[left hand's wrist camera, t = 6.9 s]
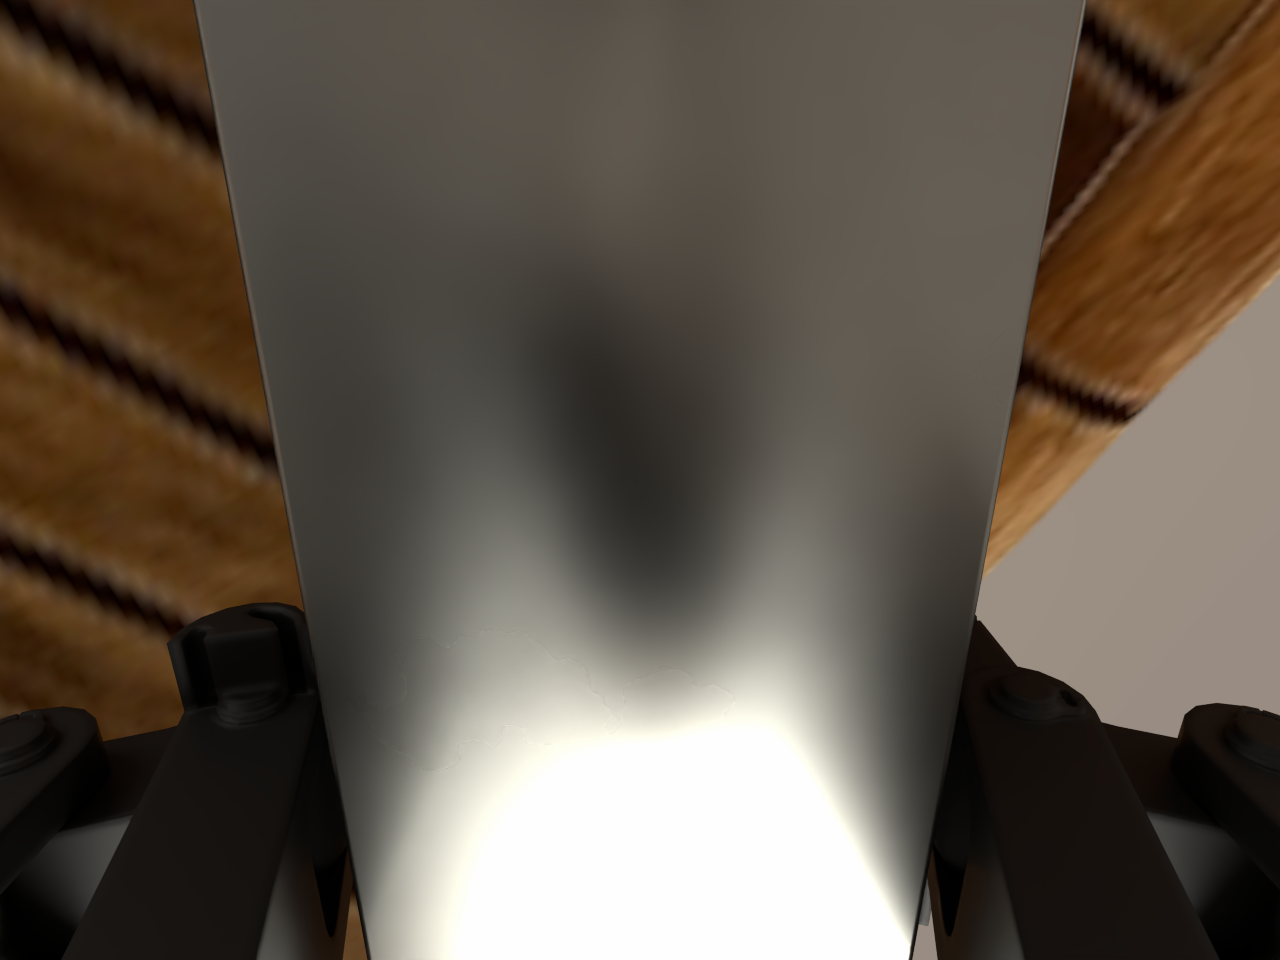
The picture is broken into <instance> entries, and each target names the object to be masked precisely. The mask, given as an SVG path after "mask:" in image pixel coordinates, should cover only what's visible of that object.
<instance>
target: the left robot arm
mask: <svg viewBox="0 0 1280 960" xmlns="http://www.w3.org/2000/svg"><path fill="white" fill-rule="evenodd" d="M167 646H168V650H169V654H170V657H171V661H172V665H173V669H174V673H175V677H176V680H177V684H178V688H179V692H180V696H181V700H182V703H183V707H184V711H185V712H184V714H183V716H182V718H181V720H180V722H179V724H178V726H175V727H171V728H167V729H163V730H158V731H153V732H148V733H143V734H138V735H133V736H128V737H123V738H118V739H113V740H108V741H103V740H102V737H101V734H100V731H99V727H98V724H97V721H96V718H95V717H93V716H92V715H91V714H90V713H88V712H87V711H86V710H84V709H77V708H70V707H55V708H47V709H36V710H31V711H26V712H22V713H21V714H19V715H18V714H15V715H12V716H9V717H6V718H3V719H1V720H0V960H343V952H344V944H345V936H346V928H347V920H348V912H349V904H350V897H351V889H352V881H353V877H352V871H351V866H350V860H349V855H348V849H347V844H346V839H345V833H344V828H343V822H342V817H341V811H340V806H339V800H338V795H337V789H336V784H335V778H334V773H333V767H332V762H331V756H330V751H329V745H328V740H327V734H326V729H325V723H324V718H323V712H322V707H321V701H320V696H319V690H318V685H317V679H316V674H315V668H314V663H313V657H312V652H311V646H310V641H309V635H308V630H307V624H306V619H305V613H304V612H303V611H301V610H300V609H299V608H297V607H296V606H292V605H287V604H282V603H278V602H274V603H251V604H246V605H241V606H236V607H231V608H226V609H224V610H221V611H218V612H215V613H213V614H210V615H207V616H204V617H202V618H200V619H198V620H196V621H195V622H193V623H191V624H189V625H188V626H186V627H184V628H183V629H181V630H180V631H179V632H178V633H177V634H176V635H175V636H174V637H173V638H172V639H171V640H170V641H169V642H168V643H167ZM931 911H932V918H933V926H934V934H935V942H936V950H937V958H938V960H1280V716H1279V715H1277V714H1274V713H1271V712H1268V711H1265V710H1263V711H1260V710H1259V709H1257V708H1252V707H1248V706H1239V705H1230V704H1221V703H1213V704H1206V705H1199V706H1195V707H1194V708H1193V709H1191V710H1190V711H1189V712H1188V713H1186V714H1185V716H1184V719H1183V722H1182V725H1181V728H1180V732H1179V735H1178V738H1174V737H1169V736H1164V735H1158V734H1153V733H1148V732H1143V731H1138V730H1133V729H1128V728H1123V727H1118V726H1114V725H1110V724H1106V723H1102V722H1101V721H1100V719H1099V717H1098V715H1097V713H1096V711H1095V709H1094V708H1093V707H1092V706H1091V704H1090V703H1089V702H1088V701H1087V700H1086V698H1085V697H1084V696H1083V695H1082V694H1080V693H1079V692H1077V691H1076V690H1075V689H1073V688H1072V687H1070V686H1069V685H1067V684H1066V683H1064V682H1063V681H1060V680H1058V679H1056V678H1053V677H1051V676H1048V675H1046V674H1044V673H1041V672H1039V671H1035V670H1031V669H1026V668H1022V667H1017V665H1016V664H1015V663H1014V662H1013V661H1012V659H1011V658H1010V657H1009V656H1008V654H1007V653H1006V652H1005V651H1004V649H1003V648H1002V647H1001V646H1000V645H999V643H998V642H997V641H996V640H995V638H994V637H993V636H992V635H991V633H990V632H989V631H988V630H987V628H986V627H985V626H984V625H983V624H982V622H981V621H977V616H976V615H975V617H974V623H973V628H972V634H971V639H970V645H969V650H968V656H967V661H966V667H965V672H964V678H963V683H962V689H961V694H960V700H959V705H958V711H957V716H956V722H955V727H954V733H953V738H952V744H951V749H950V755H949V760H948V765H947V771H946V776H945V782H944V787H943V793H942V798H941V804H940V809H939V815H938V820H937V826H936V831H935V837H934V842H933V848H932V853H931V859H930V864H929V870H928V875H927V881H926V886H925V892H924V897H923V903H922V908H921V914H920V919H919V924H921V925H925V926H928V924H929V919H930V914H931Z"/></svg>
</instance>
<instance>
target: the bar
mask: <svg viewBox="0 0 1280 960" xmlns="http://www.w3.org/2000/svg"><path fill="white" fill-rule="evenodd" d="M1086 3H1087V0H193V4H194V10H195V15H196V21H197V26H198V32H199V37H200V43H201V48H202V54H203V59H204V65H205V70H206V76H207V81H208V87H209V92H210V97H211V103H212V108H213V114H214V119H215V125H216V130H217V136H218V141H219V147H220V152H221V158H222V163H223V169H224V174H225V180H226V185H227V191H228V196H229V202H230V207H231V213H232V218H233V224H234V229H235V235H236V240H237V246H238V251H239V257H240V262H241V268H242V273H243V279H244V284H245V290H246V295H247V301H248V306H249V312H250V317H251V323H252V328H253V334H254V339H255V344H256V350H257V355H258V361H259V366H260V372H261V377H262V383H263V388H264V394H265V399H266V405H267V410H268V416H269V421H270V427H271V432H272V438H273V443H274V449H275V454H276V460H277V465H278V471H279V476H280V482H281V487H282V493H283V498H284V504H285V509H286V515H287V520H288V526H289V531H290V537H291V542H292V548H293V553H294V559H295V564H296V570H297V575H298V581H299V586H300V591H301V597H302V602H303V608H304V613H305V619H306V624H307V630H308V635H309V641H310V646H311V652H312V657H313V663H314V668H315V674H316V679H317V685H318V690H319V696H320V701H321V707H322V712H323V718H324V723H325V729H326V734H327V740H328V745H329V751H330V756H331V762H332V767H333V773H334V778H335V784H336V789H337V795H338V800H339V806H340V811H341V817H342V822H343V828H344V833H345V839H346V844H347V849H348V855H349V860H350V866H351V871H352V877H353V882H354V888H355V893H356V899H357V904H358V910H359V915H360V921H361V926H362V932H363V937H364V943H365V948H366V954H367V959H368V960H912V957H913V952H914V946H915V941H916V936H917V930H918V925H919V919H920V914H921V908H922V903H923V897H924V892H925V886H926V881H927V875H928V870H929V864H930V859H931V853H932V848H933V842H934V837H935V831H936V826H937V820H938V815H939V809H940V804H941V798H942V793H943V787H944V782H945V776H946V771H947V765H948V760H949V755H950V749H951V744H952V738H953V733H954V727H955V722H956V716H957V711H958V705H959V700H960V694H961V689H962V683H963V678H964V672H965V667H966V661H967V656H968V650H969V645H970V639H971V634H972V628H973V623H974V617H975V612H976V606H977V601H978V595H979V590H980V584H981V579H982V573H983V568H984V562H985V557H986V551H987V546H988V541H989V535H990V530H991V524H992V519H993V513H994V508H995V502H996V497H997V491H998V486H999V480H1000V475H1001V469H1002V464H1003V458H1004V453H1005V447H1006V442H1007V436H1008V431H1009V425H1010V420H1011V414H1012V409H1013V403H1014V398H1015V392H1016V387H1017V381H1018V376H1019V370H1020V365H1021V359H1022V354H1023V348H1024V343H1025V337H1026V332H1027V327H1028V321H1029V316H1030V310H1031V305H1032V299H1033V294H1034V288H1035V283H1036V277H1037V272H1038V266H1039V261H1040V255H1041V250H1042V244H1043V239H1044V233H1045V228H1046V222H1047V217H1048V211H1049V206H1050V200H1051V195H1052V189H1053V184H1054V178H1055V173H1056V167H1057V162H1058V156H1059V151H1060V145H1061V140H1062V134H1063V129H1064V123H1065V118H1066V113H1067V107H1068V102H1069V96H1070V91H1071V85H1072V80H1073V74H1074V69H1075V63H1076V58H1077V52H1078V47H1079V41H1080V36H1081V30H1082V25H1083V19H1084V14H1085V8H1086Z"/></svg>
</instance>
